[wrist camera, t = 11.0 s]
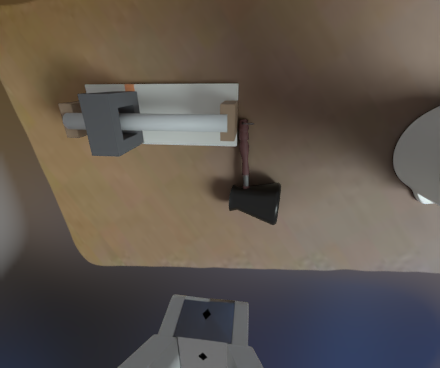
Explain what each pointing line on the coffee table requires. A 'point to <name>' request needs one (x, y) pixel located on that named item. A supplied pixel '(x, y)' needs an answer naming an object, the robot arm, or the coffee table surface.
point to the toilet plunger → (254, 188)
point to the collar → (109, 122)
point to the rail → (170, 113)
